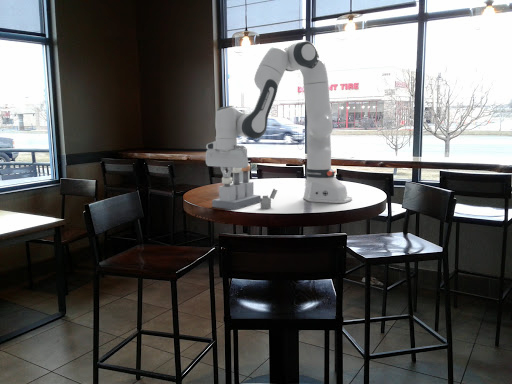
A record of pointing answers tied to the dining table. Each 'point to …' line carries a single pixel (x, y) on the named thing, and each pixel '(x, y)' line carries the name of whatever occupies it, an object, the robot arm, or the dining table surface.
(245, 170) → the knob
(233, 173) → the skincare box
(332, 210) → the dining table surface
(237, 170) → the knob mid
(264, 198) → the lighter
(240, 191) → the mount plate
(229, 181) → the knob
